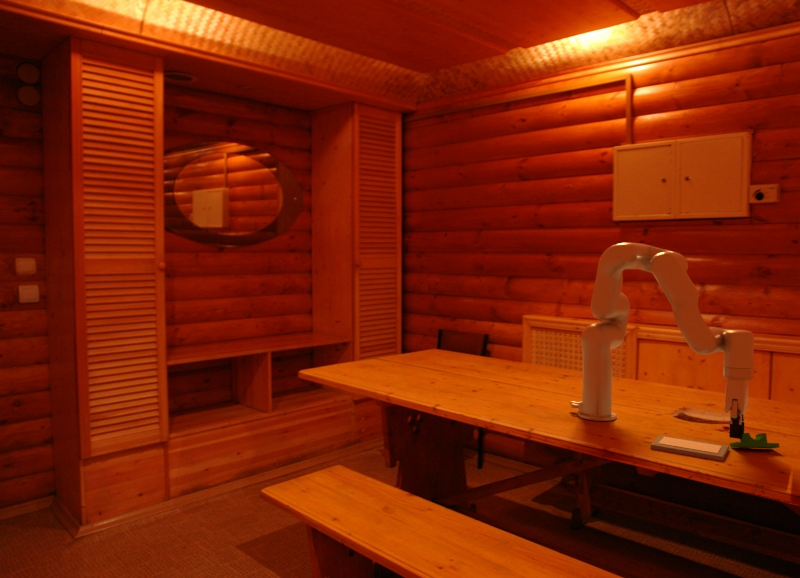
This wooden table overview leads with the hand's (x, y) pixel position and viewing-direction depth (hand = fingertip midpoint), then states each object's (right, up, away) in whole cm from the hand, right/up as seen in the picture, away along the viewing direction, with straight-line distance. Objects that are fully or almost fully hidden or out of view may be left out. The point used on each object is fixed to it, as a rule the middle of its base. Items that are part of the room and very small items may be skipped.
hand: (736, 435), depth 174 cm
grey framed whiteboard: (-16, -3, -4) cm, 16 cm away
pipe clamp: (+1, -1, 0) cm, 1 cm away
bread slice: (+5, -2, +28) cm, 29 cm away
